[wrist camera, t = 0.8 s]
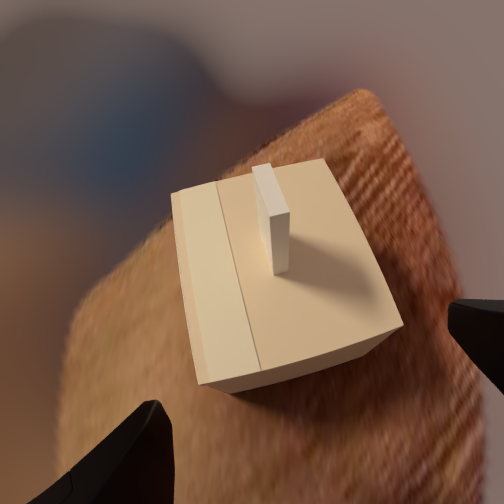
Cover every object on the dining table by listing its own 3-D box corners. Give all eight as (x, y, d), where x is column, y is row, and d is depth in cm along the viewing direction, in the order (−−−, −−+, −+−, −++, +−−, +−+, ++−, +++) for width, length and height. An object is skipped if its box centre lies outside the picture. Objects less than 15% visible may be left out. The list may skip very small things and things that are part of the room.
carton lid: (399, 328, 14) (449, 283, 9) (201, 385, 14) (158, 368, 9) (322, 164, 20) (328, 96, 15) (173, 199, 20) (146, 135, 15)
